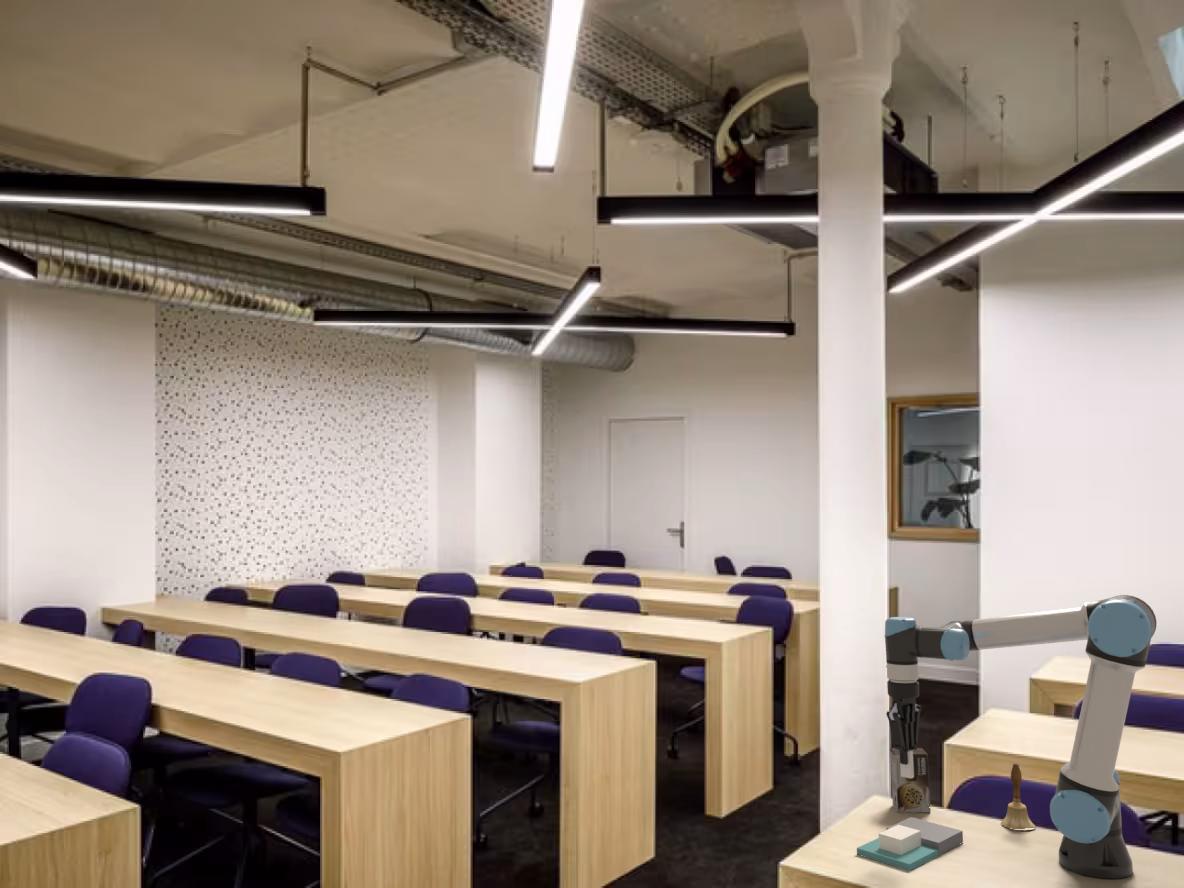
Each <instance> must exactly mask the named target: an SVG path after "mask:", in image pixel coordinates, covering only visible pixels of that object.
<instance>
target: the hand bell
mask: <svg viewBox="0 0 1184 888" xmlns="http://www.w3.org/2000/svg"><path fill="white" fill-rule="evenodd" d="M1022 780H1023V779H1022V772H1021V769H1020V766H1019V764H1018V763H1013V764H1012V768H1011V771H1010V781H1011V784H1012V789H1013V793H1012V795H1013V798H1012V799H1013V800H1012V802H1009V803H1008V805H1007V811H1006V816H1005V817H1004V818H1003V819H1002V820H1001V822H1000V825H1001V824H1002V825H1004V826H1005V827H1007V828H1006V829H1008V828H1012V829H1025V828H1035V829H1036V825H1035V824H1034V823H1033V822H1032V820H1031V819H1030V817H1029V814H1028V810H1027V808H1028V807H1027V806H1026V805H1025V804H1023V803H1022V802H1021V790H1020V789H1021V786H1022ZM1002 825H1001V826H1002ZM1005 827H1004V828H1005Z"/></svg>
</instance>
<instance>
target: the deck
mask: <svg viewBox="0 0 1184 888" xmlns="http://www.w3.org/2000/svg"><path fill="white" fill-rule="evenodd" d="M897 825H901V826H905V827H909V828H912V829H916V830H919V831H921V845H925V846H928V847H932V848H935V849H938V850H939V856H941V855H943V854H945V853H947V852H949V851H951V850H952V848H953V849H954V847H955V846H956V847H958V846H960V845H961V844H960V843H962V842H963V843H964V831H963V830H961V829H957V828H953V827H950V826H945V825H942V824H938V823H935V822H931V821H927V820H923V819H920V818H917V817H912V816H910V817H908V818H906V819H904V820H901V821H899V822H897V823H895V824H893V825H890V826H888V827H886V830H888V829H890V828H892V827H894V826H897ZM963 843H962V844H963ZM959 844H960V845H959ZM957 845H958V846H957ZM956 847H955V848H956ZM950 849H951V850H950ZM948 850H949V851H948ZM946 851H947V852H946ZM942 853H943V854H942ZM940 854H941V855H940Z"/></svg>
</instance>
